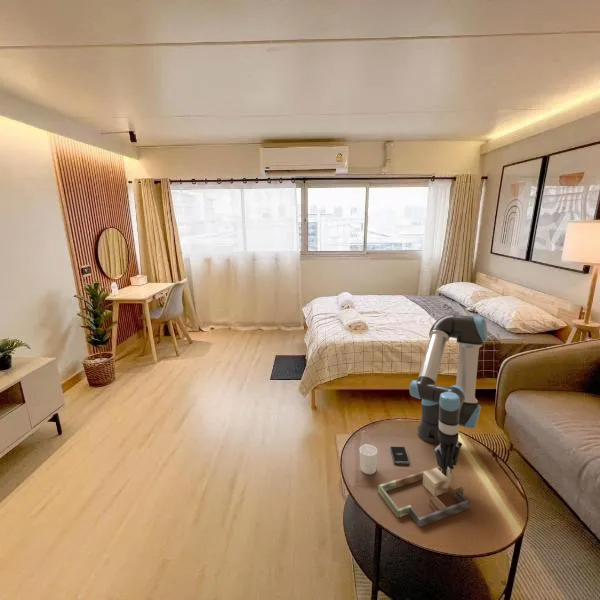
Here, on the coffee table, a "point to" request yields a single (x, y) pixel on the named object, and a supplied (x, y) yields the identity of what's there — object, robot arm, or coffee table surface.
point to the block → (435, 482)
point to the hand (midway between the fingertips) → (446, 480)
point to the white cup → (368, 458)
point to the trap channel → (434, 502)
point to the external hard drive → (399, 455)
